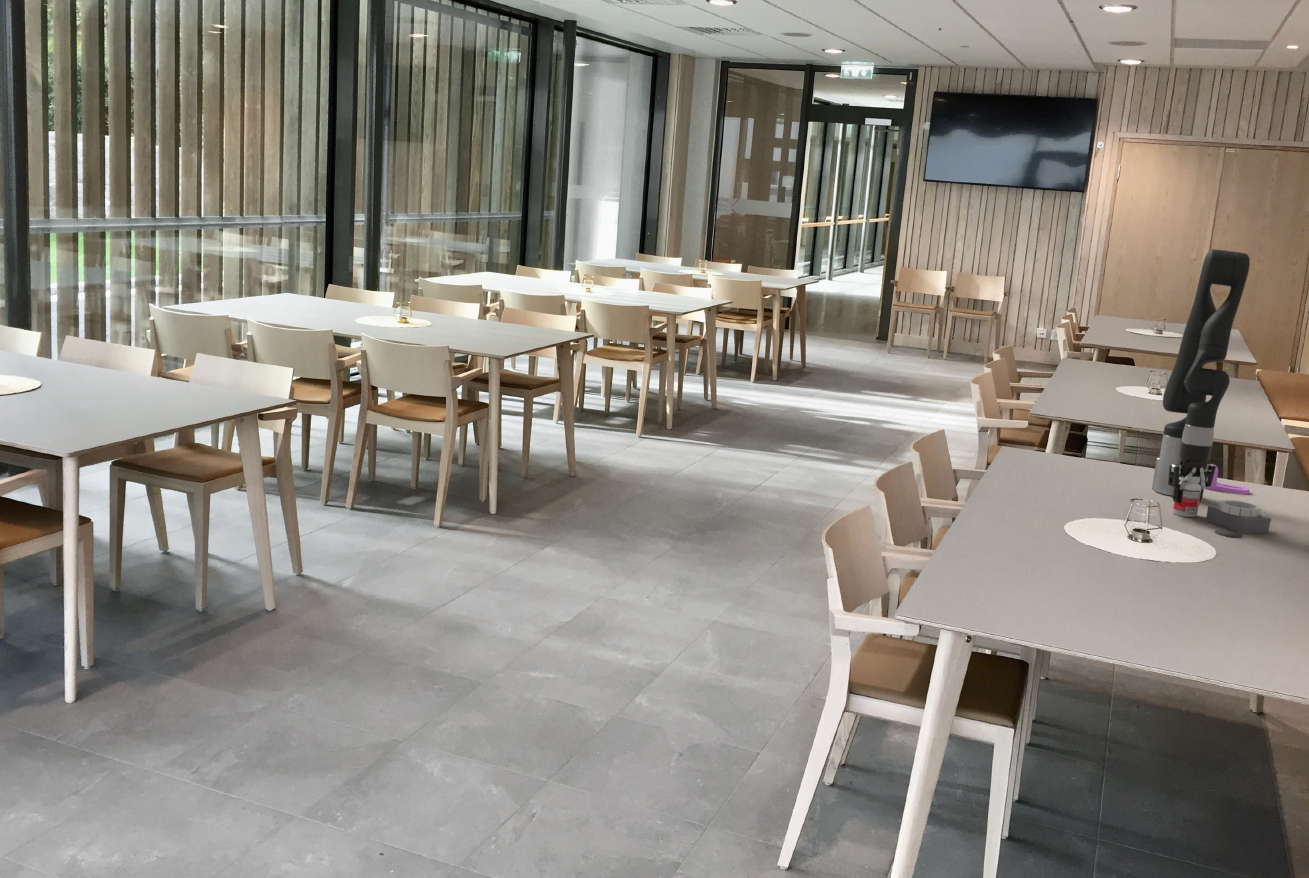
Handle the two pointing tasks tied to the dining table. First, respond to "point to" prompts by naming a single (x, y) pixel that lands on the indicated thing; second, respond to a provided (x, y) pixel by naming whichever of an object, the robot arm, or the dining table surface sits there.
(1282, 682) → the dining table surface
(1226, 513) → the gray ring-topped block
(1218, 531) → the lens cap
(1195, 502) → the pill bottle
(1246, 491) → the bracket
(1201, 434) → the robot arm
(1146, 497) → the dining table surface
